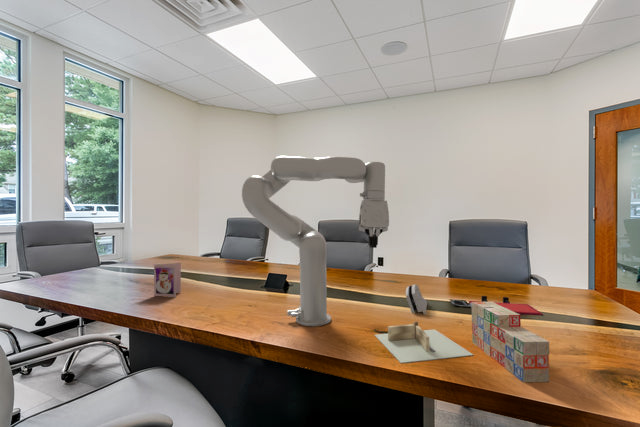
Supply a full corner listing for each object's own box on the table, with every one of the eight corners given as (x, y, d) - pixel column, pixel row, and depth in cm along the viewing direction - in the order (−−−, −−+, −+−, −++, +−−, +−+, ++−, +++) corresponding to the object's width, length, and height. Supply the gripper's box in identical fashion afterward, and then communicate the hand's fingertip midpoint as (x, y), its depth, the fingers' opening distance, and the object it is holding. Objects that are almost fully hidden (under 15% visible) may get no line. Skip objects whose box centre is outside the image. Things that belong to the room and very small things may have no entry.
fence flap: (415, 337, 89) (415, 325, 89) (418, 337, 89) (418, 325, 89) (426, 350, 81) (426, 337, 81) (429, 350, 81) (429, 337, 81)
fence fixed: (389, 342, 88) (389, 325, 88) (387, 340, 89) (387, 323, 89) (418, 339, 90) (418, 322, 90) (416, 337, 91) (416, 321, 91)
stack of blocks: (550, 382, 66) (549, 328, 66) (523, 383, 66) (522, 328, 66) (492, 342, 88) (491, 300, 88) (471, 342, 88) (471, 301, 88)
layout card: (400, 363, 75) (400, 362, 75) (374, 335, 93) (374, 334, 93) (473, 355, 79) (473, 354, 79) (434, 329, 97) (434, 329, 97)
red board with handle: (448, 300, 131) (456, 311, 116) (448, 293, 131) (457, 304, 116) (523, 304, 125) (542, 317, 111) (523, 298, 125) (542, 310, 110)
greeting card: (152, 296, 139) (152, 265, 139) (163, 292, 146) (163, 262, 146) (174, 297, 137) (174, 265, 137) (184, 293, 144) (184, 263, 144)
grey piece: (425, 314, 112) (415, 289, 113) (413, 317, 113) (403, 292, 115) (427, 302, 127) (418, 280, 128) (416, 305, 129) (408, 283, 130)
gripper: (357, 195, 102) (356, 248, 101) (397, 196, 104) (396, 248, 104) (351, 196, 109) (350, 246, 109) (389, 197, 112) (388, 246, 111)
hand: (372, 247), depth 106 cm, fingers closed
